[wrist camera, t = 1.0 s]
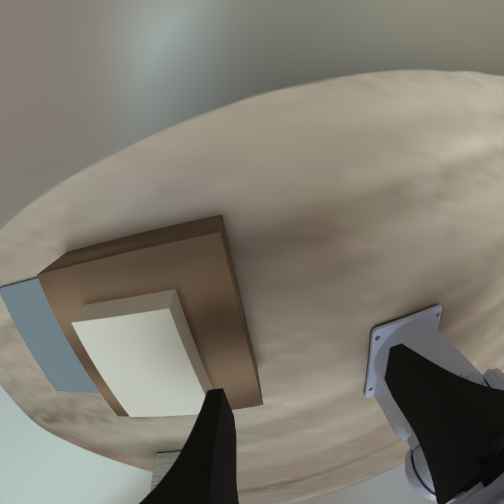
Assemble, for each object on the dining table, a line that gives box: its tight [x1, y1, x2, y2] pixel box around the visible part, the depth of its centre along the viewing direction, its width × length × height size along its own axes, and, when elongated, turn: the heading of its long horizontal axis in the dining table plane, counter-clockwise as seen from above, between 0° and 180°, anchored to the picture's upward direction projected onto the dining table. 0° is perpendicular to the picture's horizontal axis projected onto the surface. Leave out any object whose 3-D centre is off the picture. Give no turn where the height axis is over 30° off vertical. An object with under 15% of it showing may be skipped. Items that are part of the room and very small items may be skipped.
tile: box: [71, 289, 213, 417], centre depth 15 cm, size 8×6×2 cm
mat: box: [0, 277, 100, 393], centre depth 19 cm, size 12×10×1 cm
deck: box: [37, 215, 263, 416], centre depth 17 cm, size 13×12×4 cm
